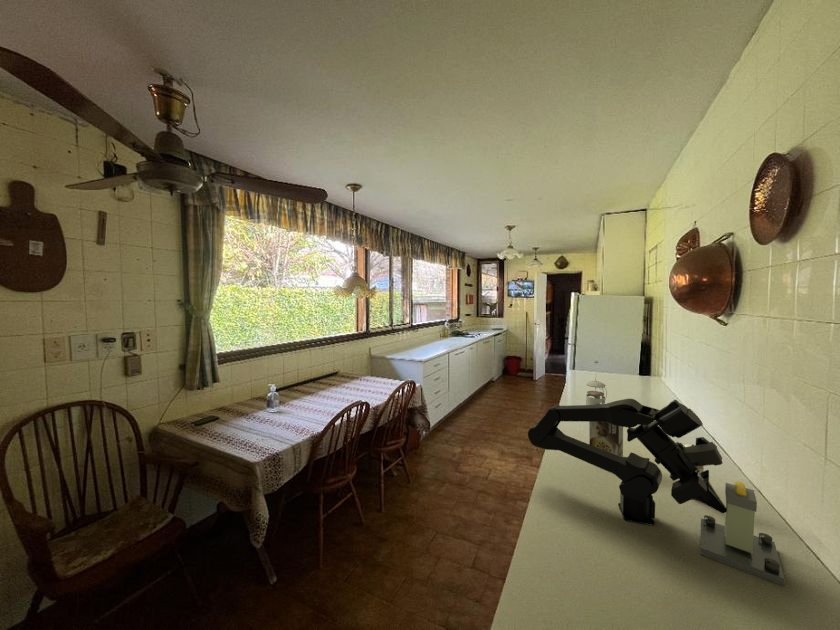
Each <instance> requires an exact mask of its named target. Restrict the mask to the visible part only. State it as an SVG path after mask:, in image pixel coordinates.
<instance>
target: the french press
mask: <svg viewBox="0 0 840 630" xmlns="http://www.w3.org/2000/svg"><path fill="white" fill-rule="evenodd" d="M598 363H599V361H598V360H594V361H593V364H598ZM585 385H586V386H588V387H590V388H595V390H588V391H586V393H587V394H586V396H585V402H586V404H585V405H602V404H606V399H607V395H608V392H607V388H606V384H605V383H603V382H602V381H598V380H597V375H595V380H590V381H587V382H586V383H585ZM597 389H600V390H601V391H598V390H597ZM604 390H605V391H604ZM604 392H606V393H604ZM605 394H606V395H605Z"/></svg>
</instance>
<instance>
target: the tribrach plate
mask: <svg viewBox="0 0 840 630" xmlns="http://www.w3.org/2000/svg"><path fill="white" fill-rule="evenodd" d="M700 555H701V556H703V557H706V558H708V559H711V560H714V561H717V562H719V563H721V564H725V565H727V566H730V567H732V568H735V569H738V570H741V571H743V572H745V573H749V574H751V575H753V576H755V577H758V578H761V579H764V580H767V581H769V582H772V583H773V584H777V585H779V586H783V587H785V575H784V571H783V568H782V564H781V561H780V557H779V554H778V551H777V546H776V544H775V541H773V537H772V536H770V535H769V534H767V533H764V532H759V533H758V536H757V535H755V534H754V535H753V554H752V553H750V552H747V551H744V550H741V549H738V548H736V547H733V546H730V545H727V544H726V541H725V525H723V524H720V523H716V519H715V517H713V516H710V515H708V514H707V515H706V514H705V515H704V516H703V518H700Z"/></svg>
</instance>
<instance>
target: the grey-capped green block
mask: <svg viewBox="0 0 840 630" xmlns="http://www.w3.org/2000/svg"><path fill="white" fill-rule="evenodd" d="M724 488H725V489H724V494H725V507H726V509H727V512H725V513H724V515H725V517H724V526H725V541H726V544H727V545H730V546H733V547H736V548H738V549H741V550H744V551H747V552H750V553H752V554H753V535H754V536H755V513H757V507H758V506H757V504H758V503H757V502H758V500H757V499H756V498H757V496H756V493H755V490H754V489H751V488H747V487H746V485H745V483H743V482H742V481H736V482H734V484H733V483H728V482H725V487H724Z"/></svg>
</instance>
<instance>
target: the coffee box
mask: <svg viewBox="0 0 840 630" xmlns="http://www.w3.org/2000/svg"><path fill="white" fill-rule="evenodd" d="M588 424H589V425H588V426H589V427H588V428H589V429H588V430H589V431H588V432H589V433H588V434H589V437H588V438H589V443H588V444H589V445H592V446H595V447H597V448H600V449H602V450H605V451H607V452H610V453H612V454H615V455H617V456H620V457H624V427H621V426H615V425H612V424H609V423H606V422H589V423H588Z"/></svg>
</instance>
